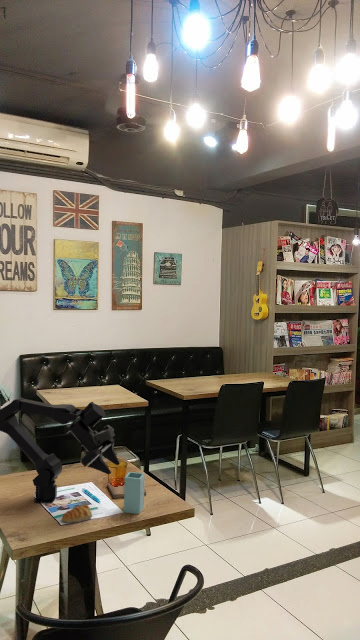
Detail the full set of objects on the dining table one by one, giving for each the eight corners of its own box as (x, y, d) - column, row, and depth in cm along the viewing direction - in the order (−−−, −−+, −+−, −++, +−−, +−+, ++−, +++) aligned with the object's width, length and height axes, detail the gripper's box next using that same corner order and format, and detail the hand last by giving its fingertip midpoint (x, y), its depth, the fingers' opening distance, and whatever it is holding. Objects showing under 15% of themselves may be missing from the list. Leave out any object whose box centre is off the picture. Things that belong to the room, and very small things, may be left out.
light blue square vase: (123, 512, 165) (124, 477, 165) (128, 505, 171) (129, 471, 170) (139, 514, 164) (140, 479, 164) (143, 507, 170) (144, 473, 169)
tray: (113, 498, 176) (113, 494, 176) (107, 486, 187) (107, 482, 187) (146, 495, 180) (146, 491, 179) (137, 483, 191) (138, 479, 191)
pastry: (67, 527, 154) (67, 515, 154) (58, 519, 159) (58, 507, 159) (93, 519, 160) (93, 507, 160) (83, 511, 165) (83, 500, 165)
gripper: (90, 426, 159) (122, 463, 158) (109, 413, 177) (138, 446, 176) (67, 448, 161) (99, 484, 159) (88, 433, 179) (116, 465, 178)
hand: (114, 469), depth 168 cm, fingers open, 9 cm apart
